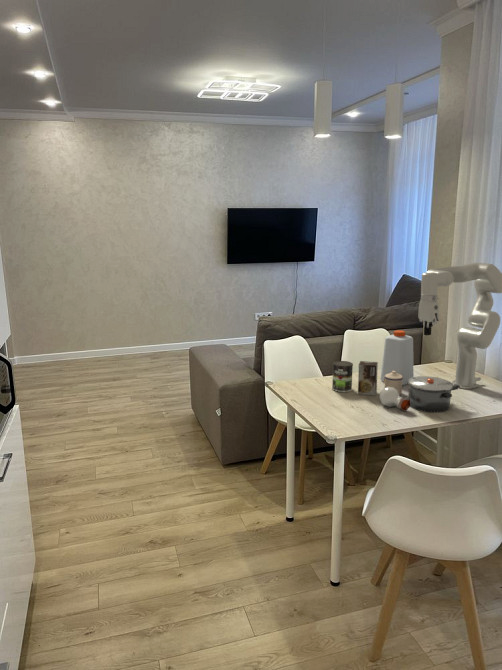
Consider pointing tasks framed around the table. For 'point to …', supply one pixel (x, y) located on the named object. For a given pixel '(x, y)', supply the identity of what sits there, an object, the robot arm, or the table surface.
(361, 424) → the table surface
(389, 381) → the teacup with lid
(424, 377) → the lid
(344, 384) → the coffee can
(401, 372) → the plastic bottle
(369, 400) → the table surface
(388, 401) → the potion bottle
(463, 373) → the robot arm
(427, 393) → the pot
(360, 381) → the coffee box
